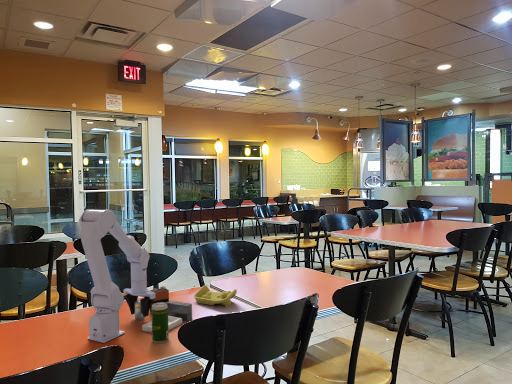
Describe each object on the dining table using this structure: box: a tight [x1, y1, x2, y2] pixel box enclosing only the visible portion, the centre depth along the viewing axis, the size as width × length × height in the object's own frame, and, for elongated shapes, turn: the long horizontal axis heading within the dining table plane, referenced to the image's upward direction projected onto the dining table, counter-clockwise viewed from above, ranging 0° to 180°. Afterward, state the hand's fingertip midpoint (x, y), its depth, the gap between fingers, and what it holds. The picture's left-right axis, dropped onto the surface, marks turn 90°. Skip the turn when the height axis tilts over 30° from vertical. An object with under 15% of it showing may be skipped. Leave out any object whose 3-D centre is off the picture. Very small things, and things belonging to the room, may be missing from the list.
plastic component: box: [193, 284, 238, 307], centre depth 167 cm, size 20×7×10 cm
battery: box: [149, 285, 170, 314], centre depth 156 cm, size 4×7×10 cm, turn 126°
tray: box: [141, 316, 183, 334], centre depth 140 cm, size 12×9×2 cm
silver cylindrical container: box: [134, 299, 146, 322], centre depth 148 cm, size 4×4×7 cm
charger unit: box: [166, 300, 193, 323], centre depth 149 cm, size 3×10×6 cm, turn 63°
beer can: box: [151, 302, 170, 344], centre depth 128 cm, size 5×5×12 cm
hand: (139, 314), depth 148 cm, fingers open, 6 cm apart
